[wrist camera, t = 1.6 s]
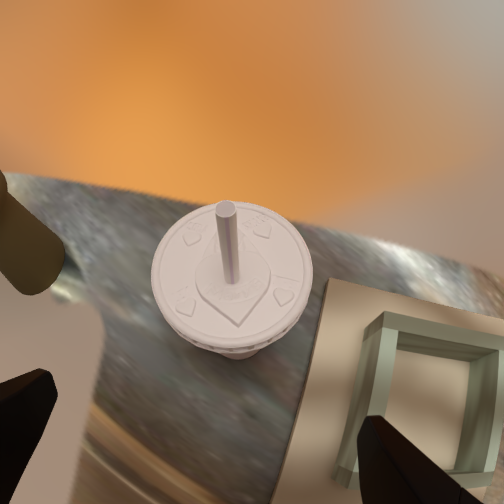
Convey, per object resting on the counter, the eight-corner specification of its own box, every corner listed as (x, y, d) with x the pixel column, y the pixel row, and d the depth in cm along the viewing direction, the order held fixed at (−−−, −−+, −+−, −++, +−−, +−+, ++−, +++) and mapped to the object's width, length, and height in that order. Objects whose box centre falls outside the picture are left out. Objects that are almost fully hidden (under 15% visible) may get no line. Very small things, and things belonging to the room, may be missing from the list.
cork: (69, 280, 22) (-12, 193, 13) (13, 305, 21) (-74, 236, 11) (61, 222, 25) (1, 132, 15) (10, 247, 24) (-57, 171, 14)
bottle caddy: (471, 512, 13) (506, 520, 9) (267, 508, 15) (272, 530, 11) (498, 323, 21) (531, 303, 17) (326, 283, 22) (342, 252, 19)
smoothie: (193, 384, 19) (99, 318, 7) (186, 292, 22) (123, 133, 10) (294, 372, 19) (373, 287, 7) (278, 282, 23) (310, 114, 10)
